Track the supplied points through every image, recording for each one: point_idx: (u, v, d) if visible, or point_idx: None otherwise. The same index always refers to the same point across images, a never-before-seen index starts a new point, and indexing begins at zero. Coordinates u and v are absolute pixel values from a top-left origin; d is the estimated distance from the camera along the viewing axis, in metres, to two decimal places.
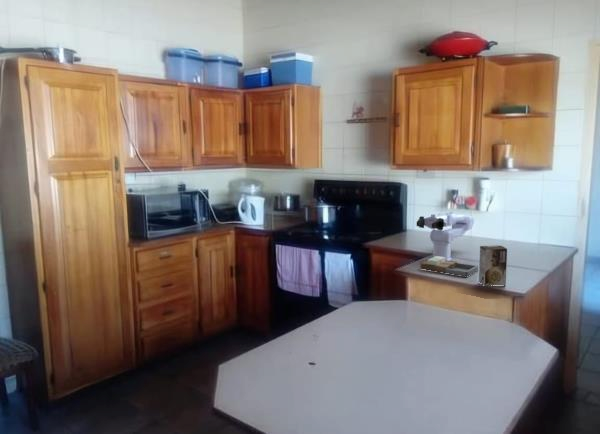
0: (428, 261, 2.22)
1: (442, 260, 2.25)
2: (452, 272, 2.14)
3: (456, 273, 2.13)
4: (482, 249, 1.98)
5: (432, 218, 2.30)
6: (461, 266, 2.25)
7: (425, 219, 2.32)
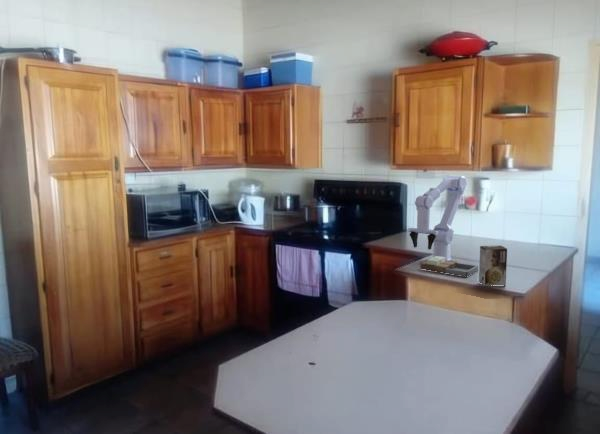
0: (428, 261, 2.22)
1: (442, 260, 2.25)
2: (452, 272, 2.14)
3: (456, 273, 2.13)
4: (482, 249, 1.98)
5: None
6: (461, 266, 2.25)
7: (414, 230, 2.32)
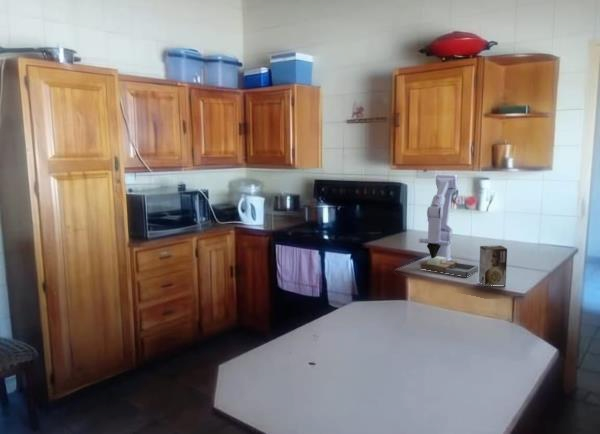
0: (428, 261, 2.22)
1: (443, 260, 2.25)
2: (452, 272, 2.14)
3: (456, 273, 2.13)
4: (482, 249, 1.98)
5: None
6: (461, 266, 2.25)
7: None
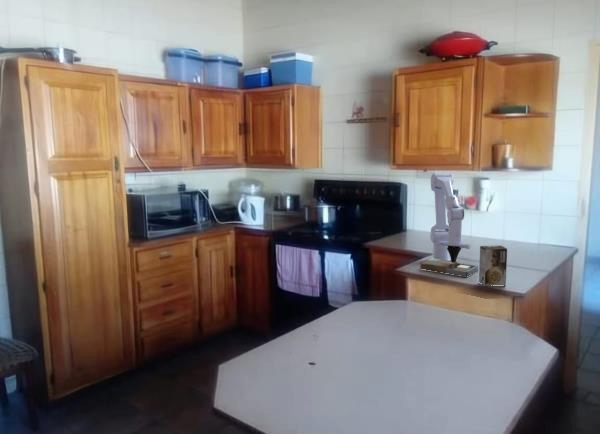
0: (428, 261, 2.22)
1: None
2: (452, 272, 2.14)
3: (456, 273, 2.13)
4: (482, 249, 1.98)
5: None
6: None
7: (445, 243, 2.23)
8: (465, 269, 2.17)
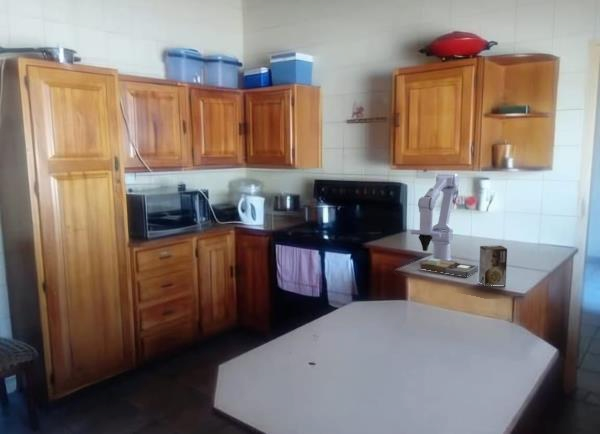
0: (428, 261, 2.22)
1: None
2: (452, 272, 2.14)
3: (456, 273, 2.13)
4: (482, 249, 1.98)
5: None
6: None
7: (417, 232, 2.26)
8: (465, 269, 2.17)
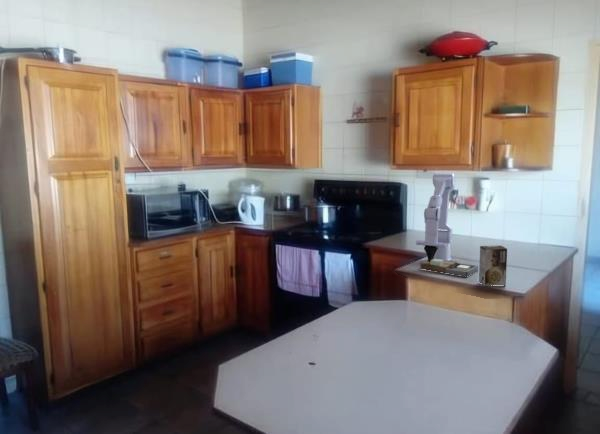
0: (431, 261, 2.21)
1: None
2: (452, 272, 2.14)
3: (456, 273, 2.13)
4: (482, 249, 1.98)
5: None
6: None
7: None
8: (465, 269, 2.17)
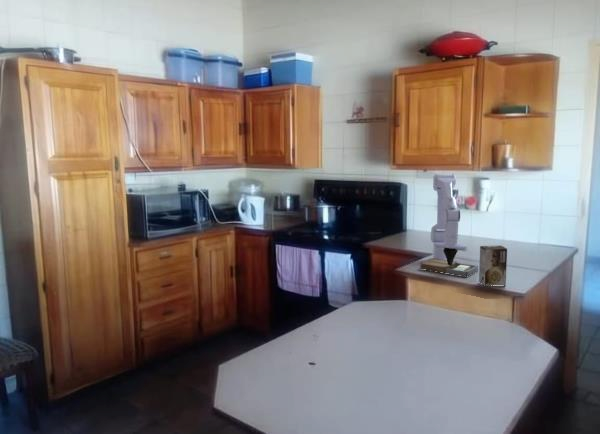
0: None
1: None
2: (452, 272, 2.14)
3: (456, 273, 2.13)
4: (482, 249, 1.98)
5: None
6: None
7: (441, 246, 2.18)
8: None
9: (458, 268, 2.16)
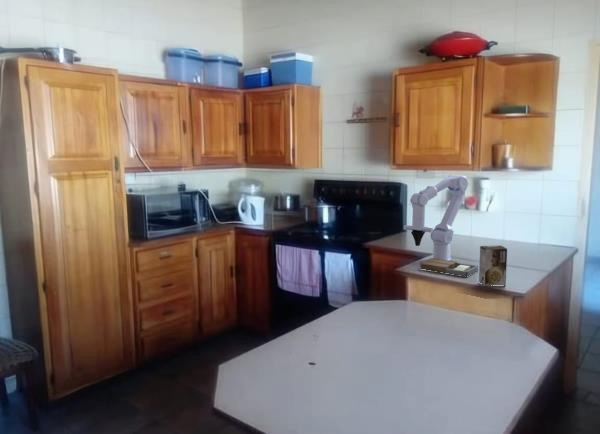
0: None
1: None
2: (452, 272, 2.14)
3: (456, 273, 2.13)
4: (482, 249, 1.98)
5: None
6: None
7: (410, 228, 2.33)
8: None
9: (458, 268, 2.16)
